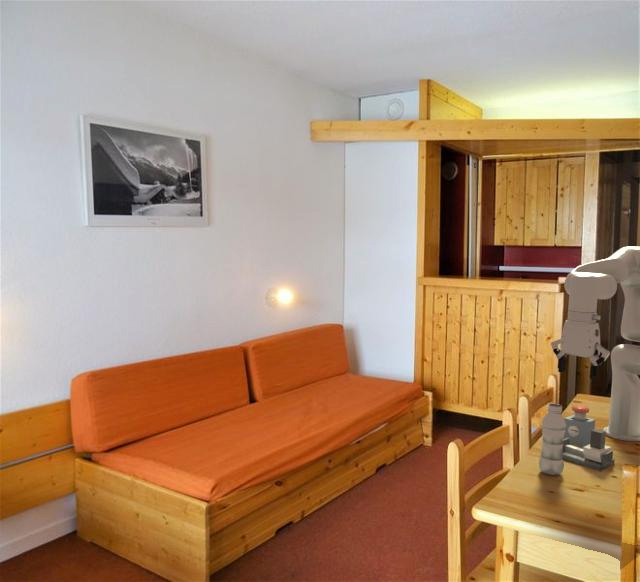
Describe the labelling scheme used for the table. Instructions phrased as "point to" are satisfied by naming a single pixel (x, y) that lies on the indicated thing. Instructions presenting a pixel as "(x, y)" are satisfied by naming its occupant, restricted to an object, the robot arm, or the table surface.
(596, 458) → the carriage
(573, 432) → the gauge cabinet
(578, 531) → the table surface
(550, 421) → the plastic bottle
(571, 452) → the track
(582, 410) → the button
